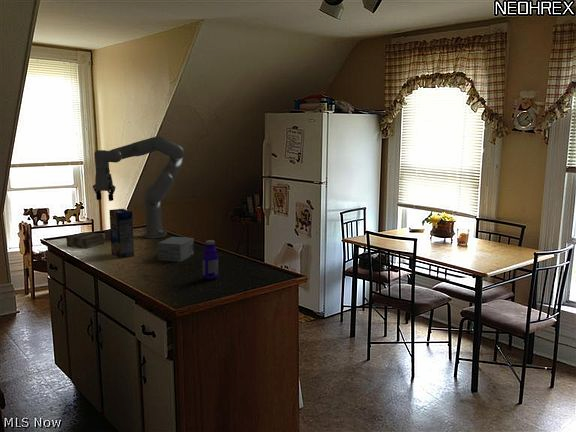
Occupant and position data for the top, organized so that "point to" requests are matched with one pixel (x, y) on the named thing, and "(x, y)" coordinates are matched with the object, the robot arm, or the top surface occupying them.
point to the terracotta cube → (108, 235)
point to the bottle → (210, 261)
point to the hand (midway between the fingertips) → (105, 200)
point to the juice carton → (121, 233)
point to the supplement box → (175, 249)
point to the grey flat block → (85, 240)
